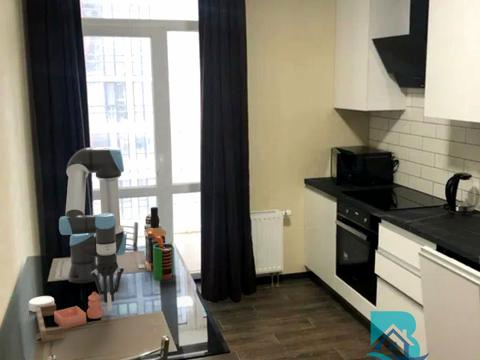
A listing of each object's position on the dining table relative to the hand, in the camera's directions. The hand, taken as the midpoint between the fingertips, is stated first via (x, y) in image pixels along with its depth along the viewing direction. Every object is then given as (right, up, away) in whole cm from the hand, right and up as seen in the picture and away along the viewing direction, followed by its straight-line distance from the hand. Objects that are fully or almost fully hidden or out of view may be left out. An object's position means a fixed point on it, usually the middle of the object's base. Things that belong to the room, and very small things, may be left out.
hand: (109, 309), depth 209 cm
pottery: (-10, -3, -4) cm, 11 cm away
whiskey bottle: (+9, +6, +59) cm, 61 cm away
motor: (+15, +4, +46) cm, 48 cm away
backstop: (-20, -4, -11) cm, 23 cm away
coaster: (-30, -2, +8) cm, 31 cm away
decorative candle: (+6, +8, +74) cm, 75 cm away
